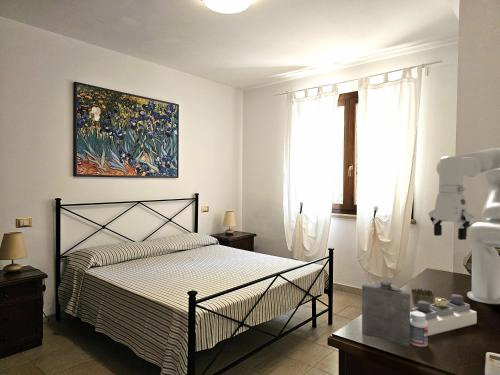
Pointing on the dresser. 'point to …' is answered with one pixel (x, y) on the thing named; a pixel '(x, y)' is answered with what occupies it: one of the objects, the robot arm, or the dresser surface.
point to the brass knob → (441, 303)
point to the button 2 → (456, 299)
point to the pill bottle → (418, 329)
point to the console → (448, 317)
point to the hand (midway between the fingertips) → (449, 237)
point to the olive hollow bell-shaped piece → (422, 296)
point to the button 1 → (424, 306)
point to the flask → (386, 313)
